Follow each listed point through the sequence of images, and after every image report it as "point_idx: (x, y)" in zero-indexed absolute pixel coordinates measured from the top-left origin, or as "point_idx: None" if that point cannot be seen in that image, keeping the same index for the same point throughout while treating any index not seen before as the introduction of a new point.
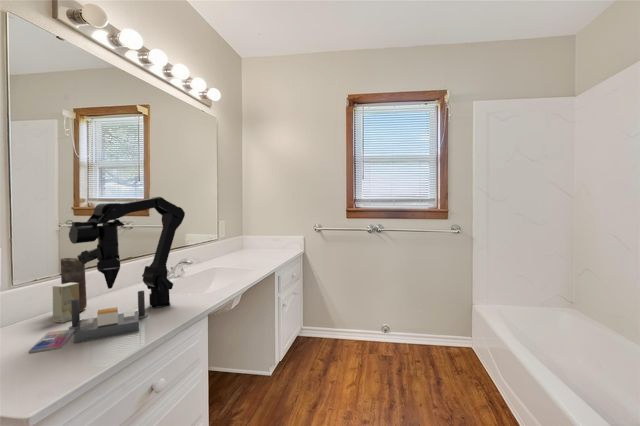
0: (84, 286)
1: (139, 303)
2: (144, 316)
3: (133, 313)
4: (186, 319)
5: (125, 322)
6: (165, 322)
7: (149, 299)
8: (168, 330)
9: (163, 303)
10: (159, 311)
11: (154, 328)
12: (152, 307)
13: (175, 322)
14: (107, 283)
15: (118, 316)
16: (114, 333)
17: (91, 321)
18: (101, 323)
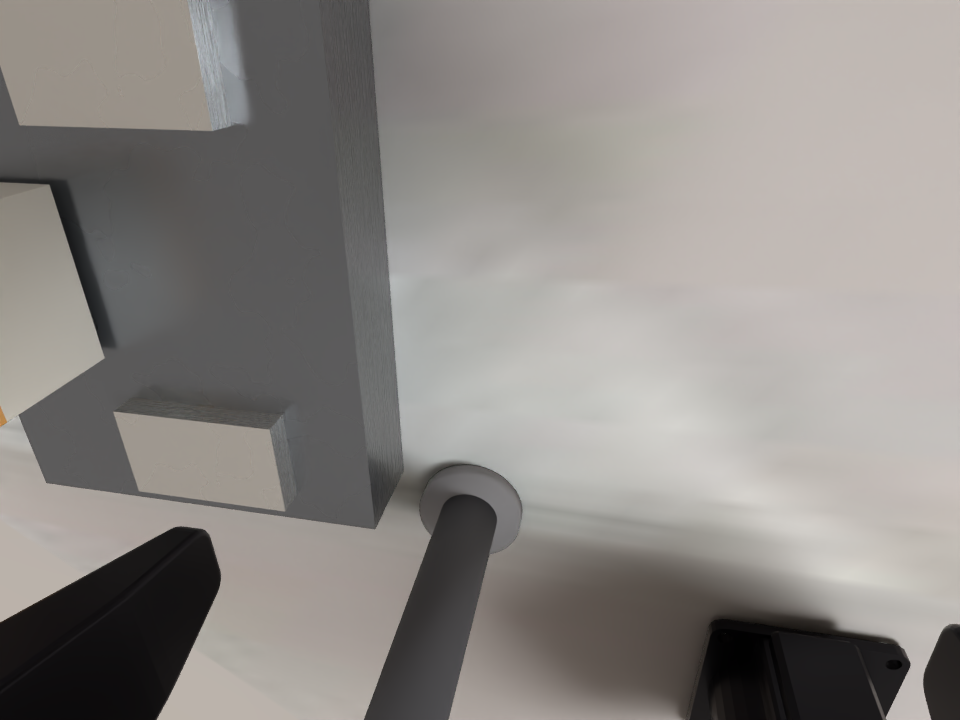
0: None
1: (407, 602)
2: (425, 525)
3: (207, 493)
4: (243, 679)
5: (48, 400)
6: (236, 589)
7: (845, 689)
8: (70, 563)
9: (710, 714)
10: (558, 629)
11: (134, 516)
12: (710, 626)
13: (209, 626)
14: (32, 622)
15: (261, 368)
16: None
17: (57, 111)
18: None
